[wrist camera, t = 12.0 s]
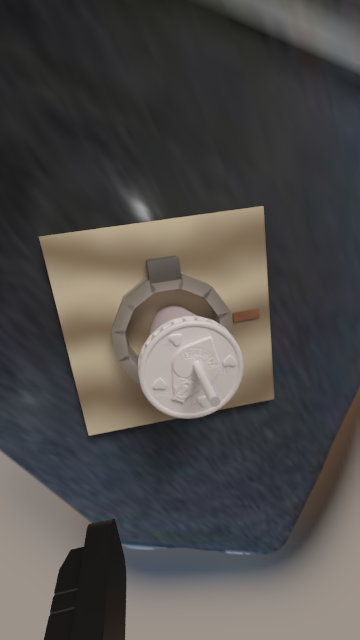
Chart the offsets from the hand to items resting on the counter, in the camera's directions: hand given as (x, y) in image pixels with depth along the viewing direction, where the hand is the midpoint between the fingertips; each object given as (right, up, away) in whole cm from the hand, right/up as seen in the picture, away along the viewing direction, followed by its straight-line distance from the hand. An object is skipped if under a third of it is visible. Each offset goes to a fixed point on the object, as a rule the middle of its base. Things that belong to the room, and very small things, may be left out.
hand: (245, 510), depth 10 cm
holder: (-3, +6, +19) cm, 20 cm away
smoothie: (-3, +5, +18) cm, 19 cm away
